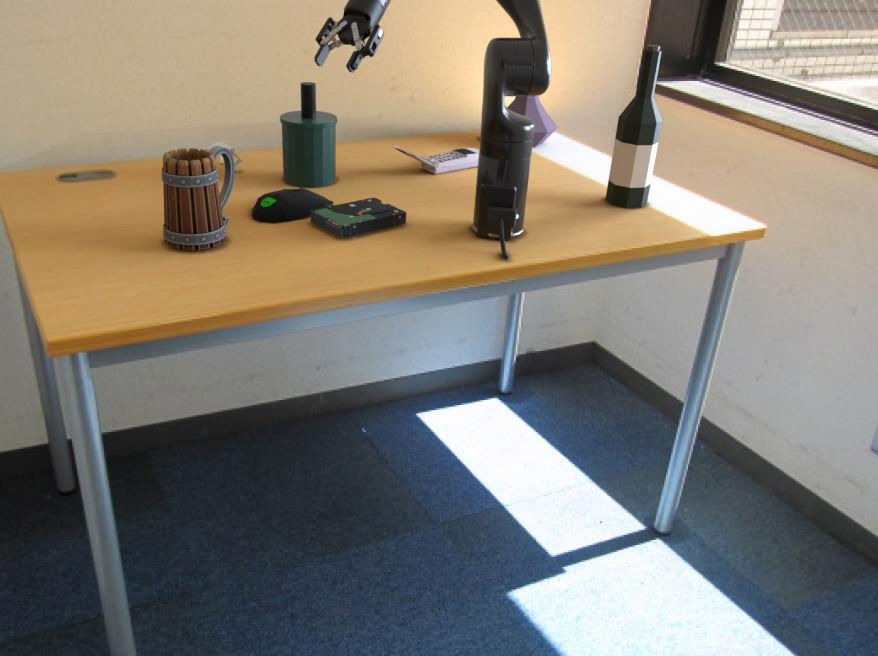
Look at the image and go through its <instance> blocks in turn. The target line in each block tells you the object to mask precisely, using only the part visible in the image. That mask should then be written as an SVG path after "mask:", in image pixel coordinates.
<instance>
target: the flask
mask: <svg viewBox="0 0 878 656" xmlns="http://www.w3.org/2000/svg"><path fill="white" fill-rule="evenodd" d="M514 97H515V98H514V99H513V100H512V102H511V103H510V104H509V105H507V106H506V107H507V108H508V109H510V110H511V111H513V112H515V113H518V114H521V115H523V116H526V117H528V118H530V119H531V120H532V121H533V122H534V126H535V128H534V138H533V145H532V148H536V147H539V146H541V145H542V144H543V143H544V142H546V140H548V138H549V137H550V136H552V134H553V133H555V131H556V130H557V129H559V126H558V125H557V124H556V123H555V121H554V120H553V119H552V117H551V116H550V115H549V114H548V112H547V110H546V109H545V107H544V106H543V104H542V102H541V101H540V95H539V96H514Z"/></svg>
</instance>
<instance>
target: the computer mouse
mask: <svg viewBox="0 0 878 656" xmlns="http://www.w3.org/2000/svg"><path fill="white" fill-rule="evenodd" d="M255 201H256V202H255V203H254V205H253V207H252V209H251V217H252V220H254V221H257V222H259V223H265V224H266V223H267V224H280V223H281V224H282V223H289V222H294V221H295V222H296V221H301V220H304V219H305V220H306V219H309V218H310V210H314V209H319V208H323V207H330V206H333V205H334V201H333V200H330V199H328V198H327V197H325V196H324V195H321V194H319V193H317V192H314V191H312V190H310V189H307V188H306V187H298V188H282V189H279V190H274V191H269V192H267V193H264V194H262V195H260V196H258V197H257V199H256V200H255Z"/></svg>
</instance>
